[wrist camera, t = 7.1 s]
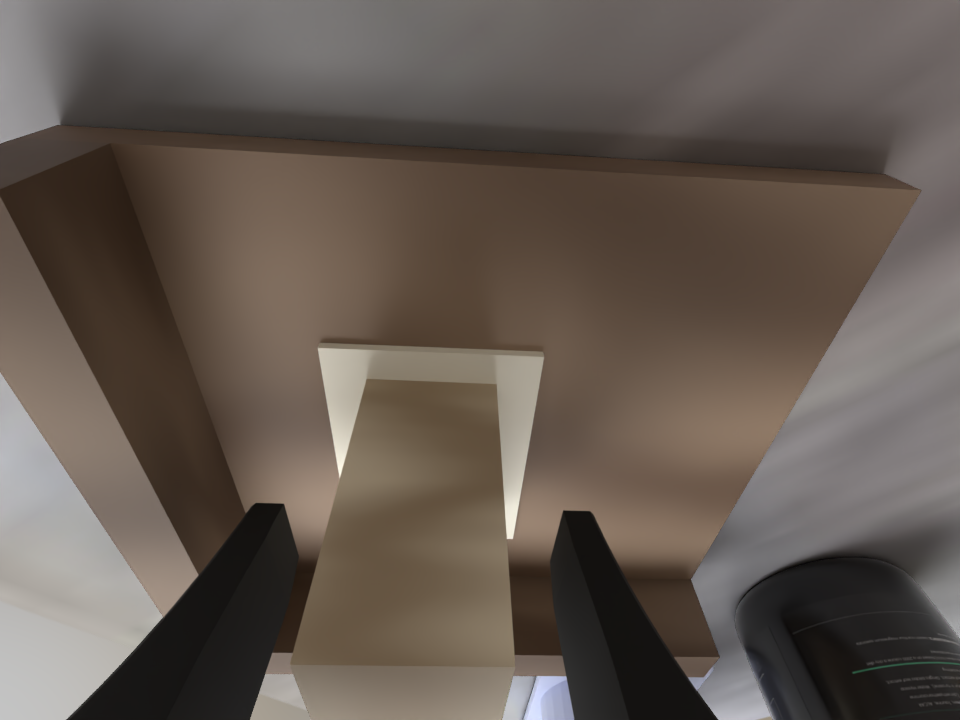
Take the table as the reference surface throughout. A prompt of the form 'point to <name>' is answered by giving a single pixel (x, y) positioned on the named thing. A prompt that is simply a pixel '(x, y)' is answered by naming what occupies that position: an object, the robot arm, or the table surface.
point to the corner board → (420, 337)
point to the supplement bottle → (849, 644)
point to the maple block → (413, 564)
